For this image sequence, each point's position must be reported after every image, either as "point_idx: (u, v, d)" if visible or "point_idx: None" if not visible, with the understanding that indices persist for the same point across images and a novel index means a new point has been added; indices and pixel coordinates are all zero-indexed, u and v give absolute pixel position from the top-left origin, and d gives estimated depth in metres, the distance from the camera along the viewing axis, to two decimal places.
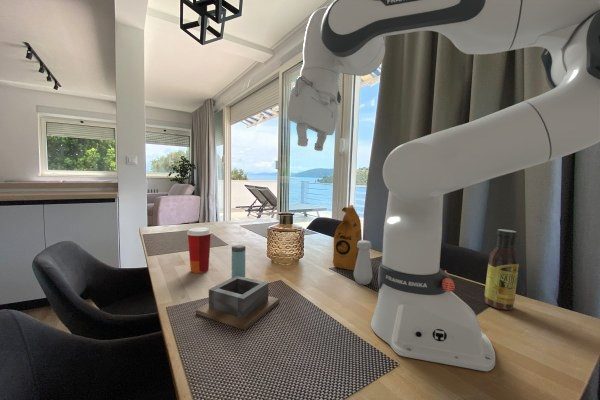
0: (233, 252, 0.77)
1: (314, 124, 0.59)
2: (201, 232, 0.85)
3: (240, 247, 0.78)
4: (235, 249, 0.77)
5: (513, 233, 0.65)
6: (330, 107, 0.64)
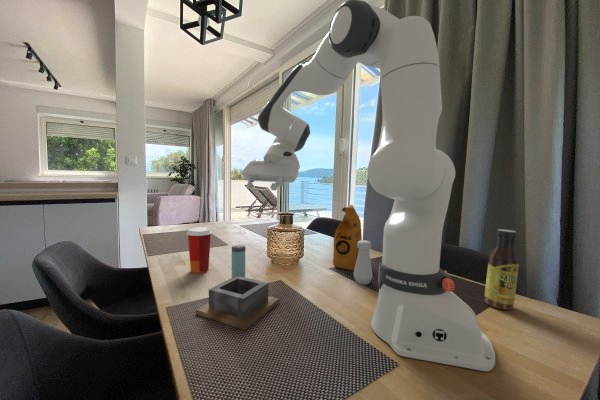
0: (233, 252, 0.77)
1: (256, 173, 0.90)
2: (201, 232, 0.85)
3: (240, 247, 0.78)
4: (235, 249, 0.77)
5: (513, 233, 0.65)
6: (280, 162, 0.90)
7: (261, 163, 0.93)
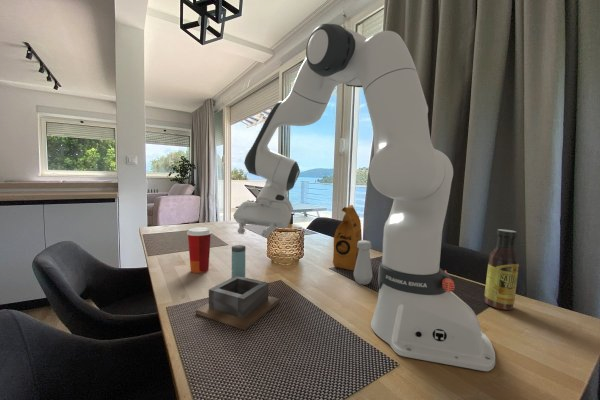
0: (233, 252, 0.77)
1: (247, 217, 0.87)
2: (201, 232, 0.85)
3: (240, 247, 0.78)
4: (235, 249, 0.77)
5: (513, 233, 0.65)
6: (272, 205, 0.87)
7: (253, 206, 0.90)
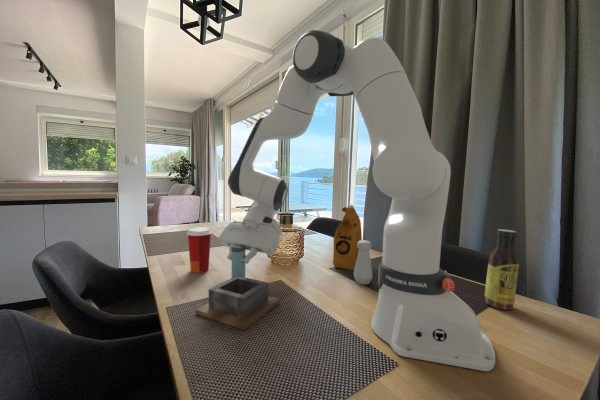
0: (233, 252, 0.77)
1: (233, 241, 0.81)
2: (201, 232, 0.85)
3: (240, 247, 0.78)
4: (235, 249, 0.77)
5: (513, 233, 0.65)
6: (259, 229, 0.81)
7: (239, 228, 0.85)
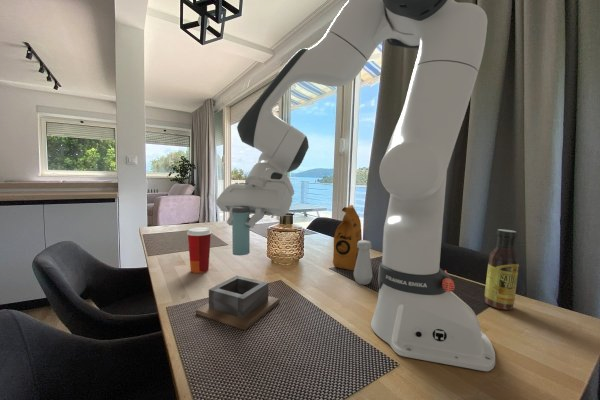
0: (234, 213, 0.61)
1: (234, 203, 0.66)
2: (201, 232, 0.85)
3: None
4: (237, 209, 0.61)
5: (513, 233, 0.65)
6: (267, 187, 0.66)
7: (242, 188, 0.69)
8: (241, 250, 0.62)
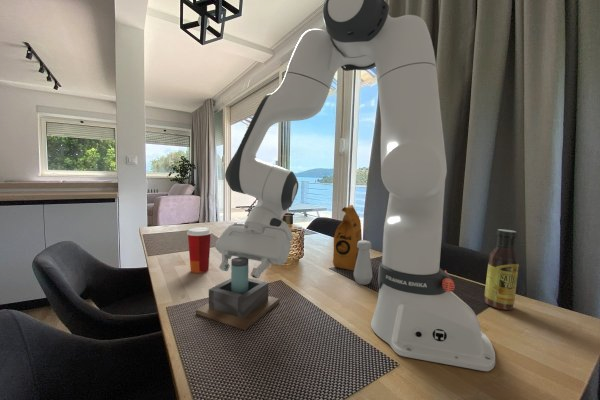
0: (233, 267, 0.62)
1: (233, 249, 0.66)
2: (201, 232, 0.85)
3: (242, 260, 0.63)
4: (236, 263, 0.61)
5: (513, 233, 0.65)
6: (265, 233, 0.66)
7: (241, 232, 0.69)
8: None
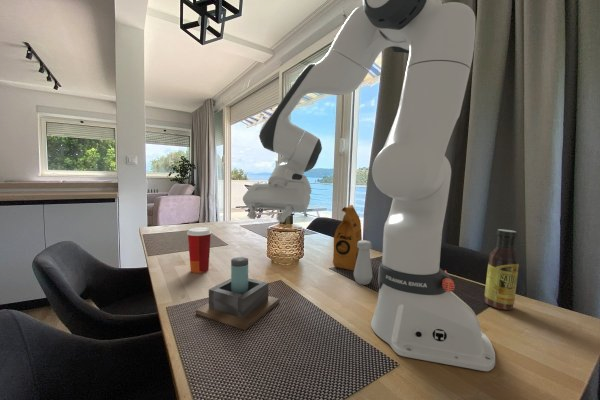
0: (233, 267, 0.62)
1: (259, 200, 0.75)
2: (201, 232, 0.85)
3: (242, 260, 0.63)
4: (235, 263, 0.61)
5: (513, 233, 0.65)
6: (288, 186, 0.75)
7: (265, 187, 0.79)
8: None
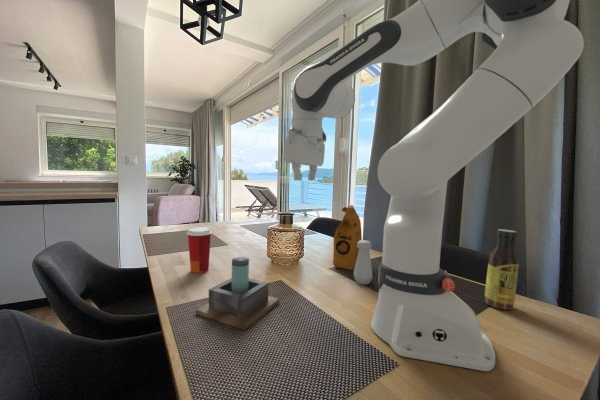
0: (234, 266, 0.62)
1: (306, 162, 0.73)
2: (201, 232, 0.85)
3: (242, 260, 0.63)
4: (236, 263, 0.61)
5: (513, 233, 0.65)
6: (317, 145, 0.79)
7: (305, 143, 0.72)
8: None
